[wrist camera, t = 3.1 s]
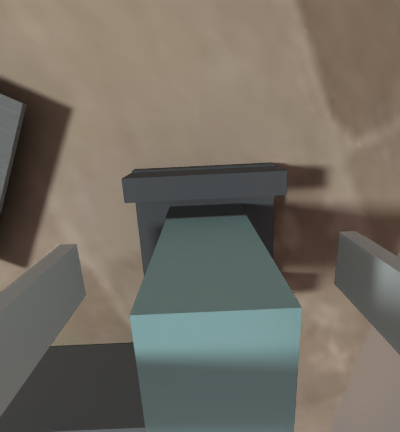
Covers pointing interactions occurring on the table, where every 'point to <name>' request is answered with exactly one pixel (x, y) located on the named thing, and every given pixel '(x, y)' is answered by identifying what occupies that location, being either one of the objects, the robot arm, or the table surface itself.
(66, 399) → the port block
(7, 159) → the electrical outlet
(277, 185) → the grey u-channel bracket
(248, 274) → the plug
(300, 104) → the table surface
